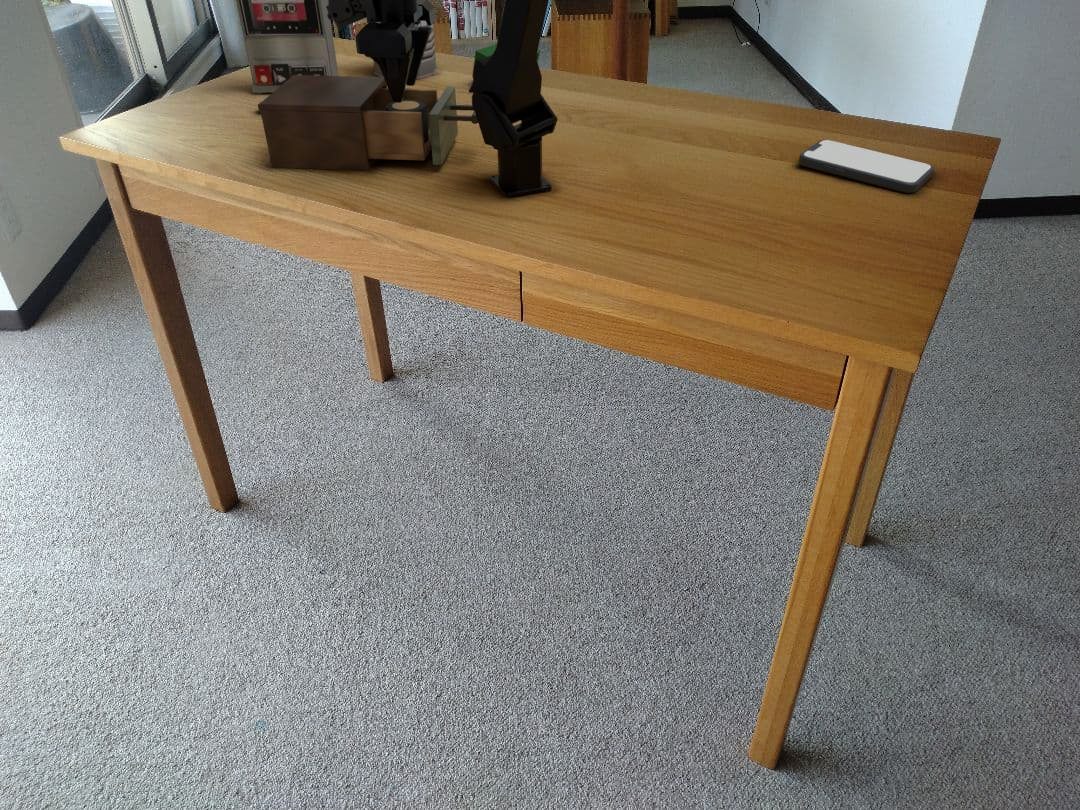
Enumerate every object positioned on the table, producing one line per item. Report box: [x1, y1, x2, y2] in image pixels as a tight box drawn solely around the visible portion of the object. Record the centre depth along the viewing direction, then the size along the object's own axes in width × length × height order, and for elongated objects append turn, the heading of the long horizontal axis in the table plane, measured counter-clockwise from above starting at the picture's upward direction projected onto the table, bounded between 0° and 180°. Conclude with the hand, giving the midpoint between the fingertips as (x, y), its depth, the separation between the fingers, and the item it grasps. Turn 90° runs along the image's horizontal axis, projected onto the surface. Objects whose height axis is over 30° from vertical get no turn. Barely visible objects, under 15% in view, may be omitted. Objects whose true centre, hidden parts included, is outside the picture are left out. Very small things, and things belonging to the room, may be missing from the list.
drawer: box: [362, 86, 479, 166], centre depth 115 cm, size 17×12×7 cm
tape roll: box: [386, 99, 429, 143], centre depth 115 cm, size 6×6×5 cm
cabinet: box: [258, 75, 388, 172], centre depth 116 cm, size 14×14×9 cm
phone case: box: [798, 139, 935, 194], centre depth 111 cm, size 9×2×16 cm
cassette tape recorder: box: [235, 0, 341, 95], centre depth 135 cm, size 14×6×25 cm, turn 92°
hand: (404, 93), depth 112 cm, fingers open, 7 cm apart
